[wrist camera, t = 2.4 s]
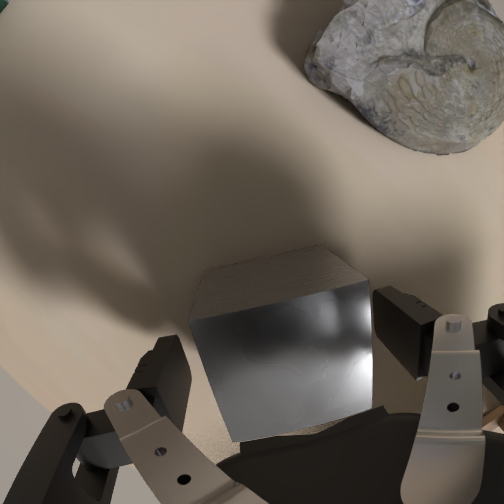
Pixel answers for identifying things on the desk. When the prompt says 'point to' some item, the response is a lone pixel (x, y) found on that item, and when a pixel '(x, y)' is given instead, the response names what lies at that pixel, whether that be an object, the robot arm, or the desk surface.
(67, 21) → the desk surface
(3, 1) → the crayon box
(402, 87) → the fossilized seashell
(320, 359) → the iron cube
